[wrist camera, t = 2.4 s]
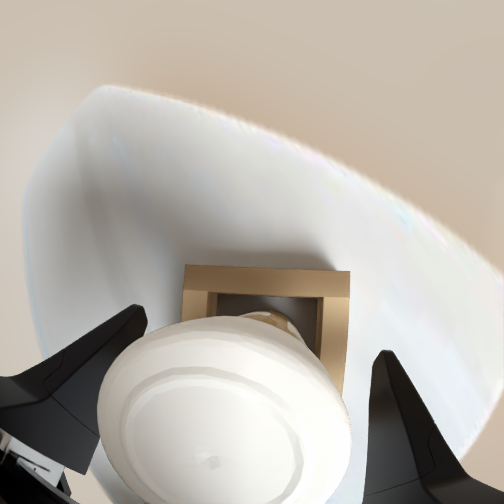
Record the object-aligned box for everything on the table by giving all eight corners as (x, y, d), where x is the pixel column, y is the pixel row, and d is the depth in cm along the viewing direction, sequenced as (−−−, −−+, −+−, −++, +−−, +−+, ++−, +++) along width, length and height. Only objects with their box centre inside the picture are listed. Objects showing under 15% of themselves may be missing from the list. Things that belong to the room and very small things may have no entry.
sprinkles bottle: (238, 301, 17) (108, 281, 4) (310, 319, 16) (400, 360, 3) (220, 369, 16) (85, 484, 3) (290, 388, 16) (299, 557, 3)
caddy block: (330, 414, 15) (336, 429, 13) (191, 403, 16) (179, 416, 14) (340, 276, 17) (349, 271, 14) (198, 270, 18) (185, 264, 15)
